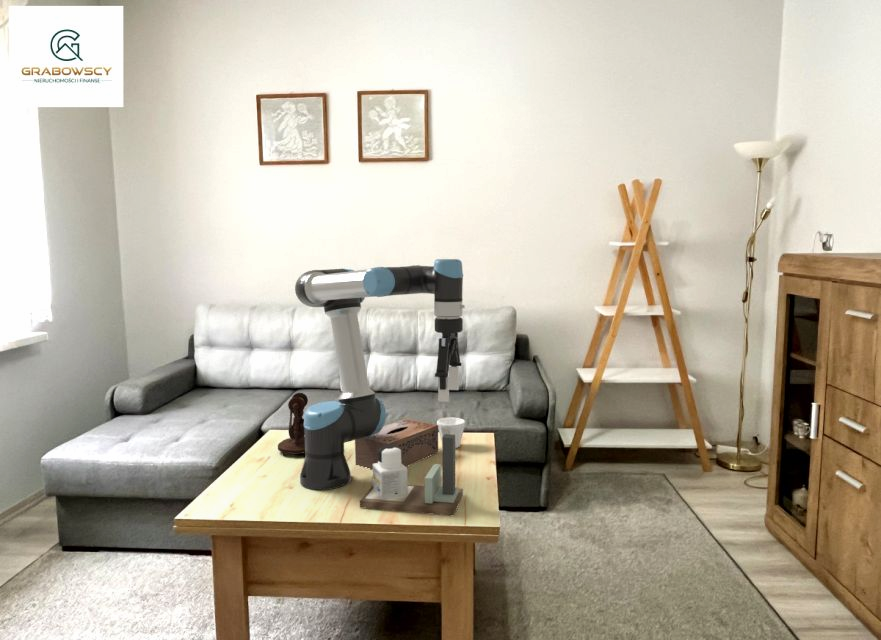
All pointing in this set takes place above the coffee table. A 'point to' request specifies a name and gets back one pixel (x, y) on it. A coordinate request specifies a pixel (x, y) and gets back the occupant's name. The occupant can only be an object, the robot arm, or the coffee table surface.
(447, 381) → the robot arm
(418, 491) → the brown wooden base tray
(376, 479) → the container
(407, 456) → the tissue box cover
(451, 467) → the slider
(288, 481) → the coffee table surface
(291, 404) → the dark brown upright piece
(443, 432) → the cup
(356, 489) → the coffee table surface
